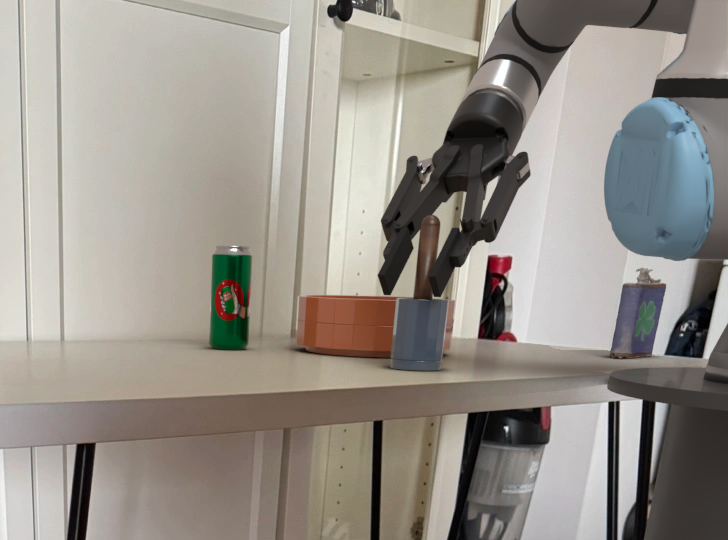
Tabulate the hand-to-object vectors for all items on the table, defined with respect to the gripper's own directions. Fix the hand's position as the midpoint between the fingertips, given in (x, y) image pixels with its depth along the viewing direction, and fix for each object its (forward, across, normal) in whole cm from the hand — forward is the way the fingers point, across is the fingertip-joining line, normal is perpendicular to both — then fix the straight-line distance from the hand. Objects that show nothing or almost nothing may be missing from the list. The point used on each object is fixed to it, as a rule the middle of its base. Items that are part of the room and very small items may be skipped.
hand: (409, 285), depth 105 cm
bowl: (-9, +14, -21) cm, 27 cm away
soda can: (-2, +29, -14) cm, 32 cm away
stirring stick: (+3, 0, -8) cm, 8 cm away
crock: (+3, 0, -8) cm, 9 cm away
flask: (-25, -12, -37) cm, 47 cm away
